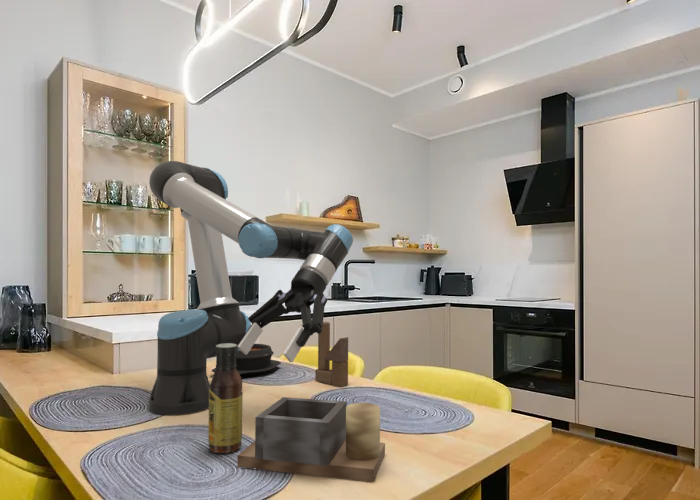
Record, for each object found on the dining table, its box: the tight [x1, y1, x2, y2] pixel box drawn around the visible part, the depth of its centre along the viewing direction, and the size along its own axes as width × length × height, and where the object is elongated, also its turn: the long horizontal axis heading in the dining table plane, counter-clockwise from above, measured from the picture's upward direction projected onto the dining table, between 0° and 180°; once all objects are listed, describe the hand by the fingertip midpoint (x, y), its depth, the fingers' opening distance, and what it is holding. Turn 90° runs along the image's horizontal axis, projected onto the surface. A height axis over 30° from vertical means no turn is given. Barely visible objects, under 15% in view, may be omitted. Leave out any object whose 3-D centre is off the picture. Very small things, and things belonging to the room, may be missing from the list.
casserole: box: [211, 343, 282, 376], centre depth 158 cm, size 25×19×8 cm
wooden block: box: [314, 321, 349, 388], centre depth 143 cm, size 4×11×18 cm, turn 46°
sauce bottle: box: [207, 343, 243, 454], centre depth 91 cm, size 6×6×20 cm
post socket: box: [236, 396, 386, 483], centre depth 86 cm, size 24×13×10 cm, turn 77°
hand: (263, 354), depth 97 cm, fingers open, 13 cm apart
